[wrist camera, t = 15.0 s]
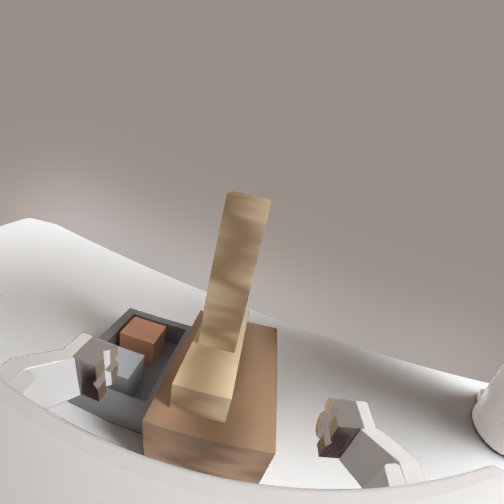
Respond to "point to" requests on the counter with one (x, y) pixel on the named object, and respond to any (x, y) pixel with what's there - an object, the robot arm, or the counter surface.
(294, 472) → the counter surface
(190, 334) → the wide wooden plinth
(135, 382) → the pale blue-grey cube
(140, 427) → the bin
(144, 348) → the salmon orange block
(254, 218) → the wooden inverted t block
